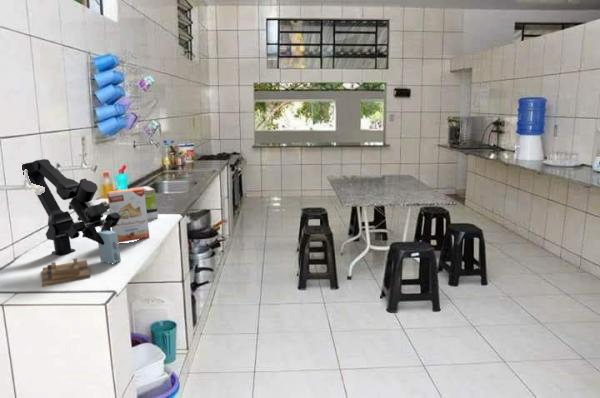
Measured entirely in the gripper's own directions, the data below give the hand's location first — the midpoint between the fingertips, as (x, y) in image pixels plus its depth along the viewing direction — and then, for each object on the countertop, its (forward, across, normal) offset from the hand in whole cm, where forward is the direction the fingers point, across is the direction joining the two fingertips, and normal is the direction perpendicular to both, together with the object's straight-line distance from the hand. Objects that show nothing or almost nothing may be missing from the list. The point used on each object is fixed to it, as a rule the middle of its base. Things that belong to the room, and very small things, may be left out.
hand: (108, 242), depth 171 cm
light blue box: (+5, 0, +5) cm, 7 cm away
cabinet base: (+2, -15, +8) cm, 17 cm away
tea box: (-26, +53, +36) cm, 70 cm away
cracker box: (-7, +23, +17) cm, 30 cm away
